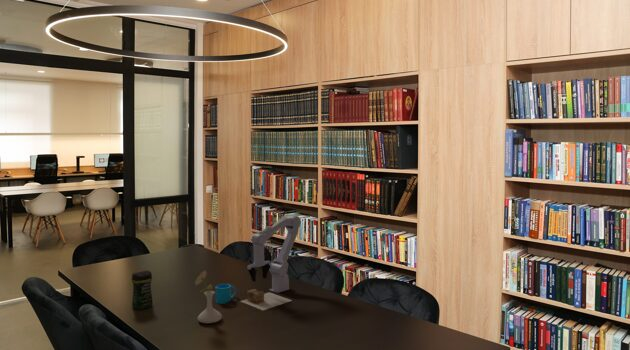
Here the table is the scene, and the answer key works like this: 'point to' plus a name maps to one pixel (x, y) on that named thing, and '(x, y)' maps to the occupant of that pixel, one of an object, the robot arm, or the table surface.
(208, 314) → the flower in vase
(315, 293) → the table surface
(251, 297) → the box
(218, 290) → the mug
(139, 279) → the coffee jar
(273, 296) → the card mat
